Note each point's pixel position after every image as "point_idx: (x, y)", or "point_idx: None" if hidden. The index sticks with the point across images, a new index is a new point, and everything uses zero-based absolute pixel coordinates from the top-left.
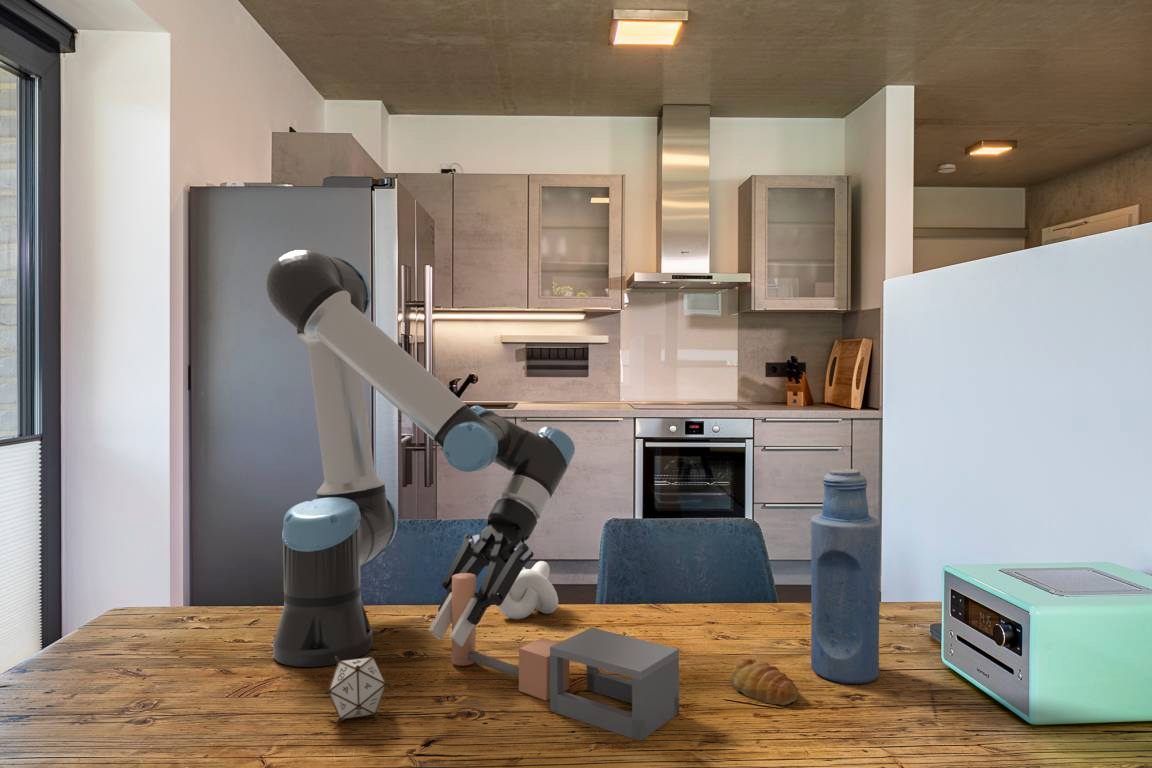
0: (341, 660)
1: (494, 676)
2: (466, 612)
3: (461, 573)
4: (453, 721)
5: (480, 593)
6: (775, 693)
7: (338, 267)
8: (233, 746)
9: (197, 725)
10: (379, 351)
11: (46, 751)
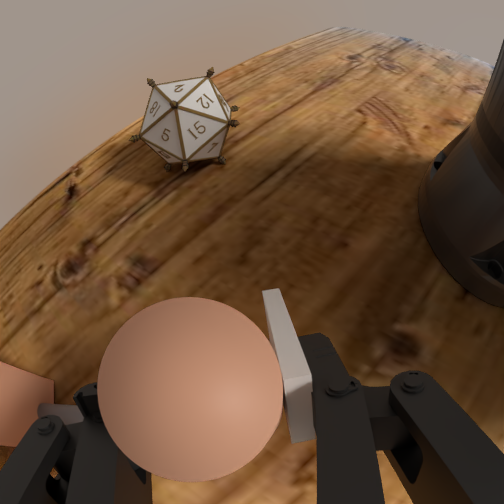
0: (205, 77)
1: None
2: None
3: (267, 425)
4: (76, 239)
5: (75, 394)
6: None
7: None
8: (241, 75)
9: (313, 70)
10: None
11: (334, 31)
